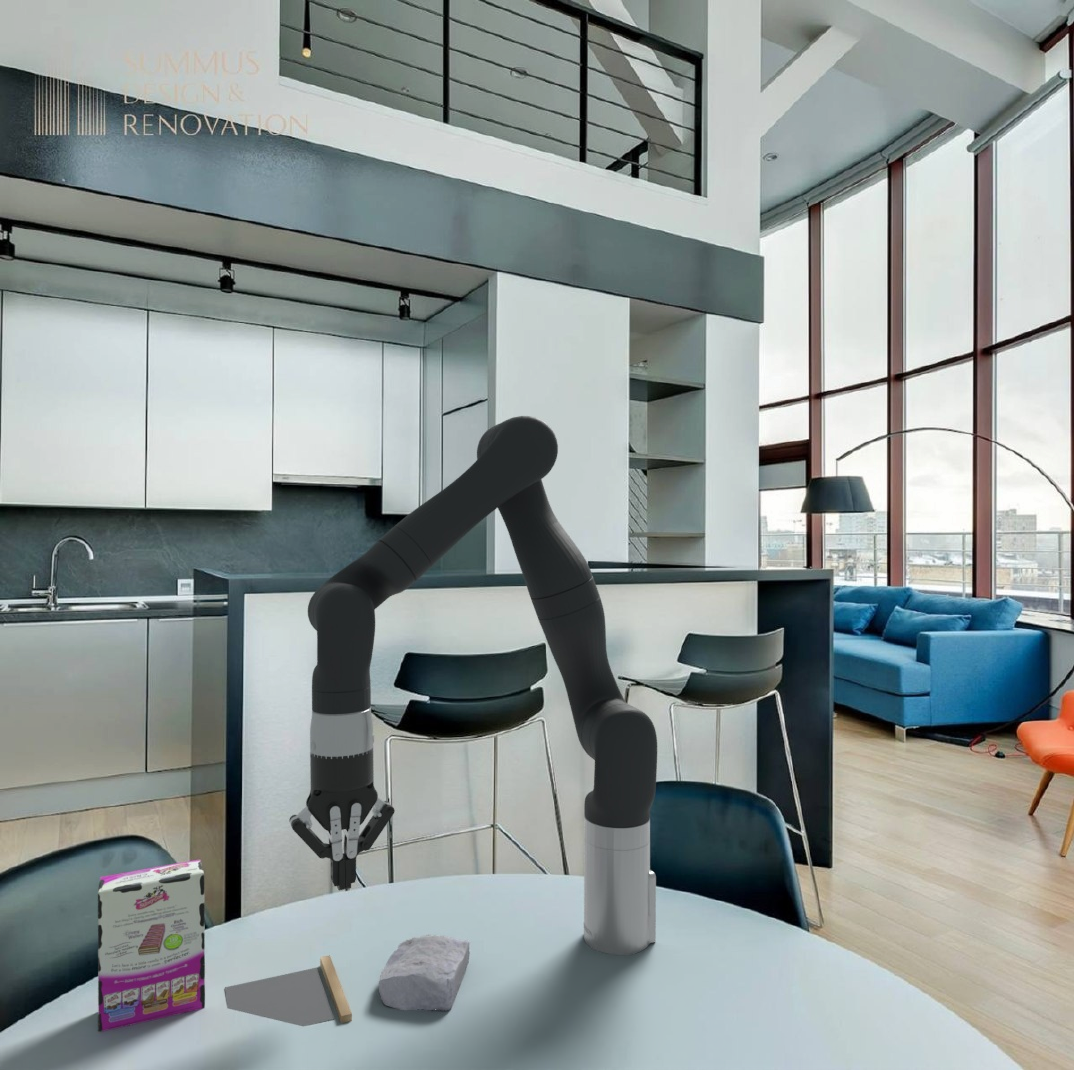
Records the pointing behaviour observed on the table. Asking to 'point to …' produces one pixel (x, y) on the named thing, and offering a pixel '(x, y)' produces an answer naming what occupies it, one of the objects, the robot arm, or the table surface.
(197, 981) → the candy bar box
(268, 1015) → the mat
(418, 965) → the stone block
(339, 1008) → the strip
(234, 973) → the table surface
